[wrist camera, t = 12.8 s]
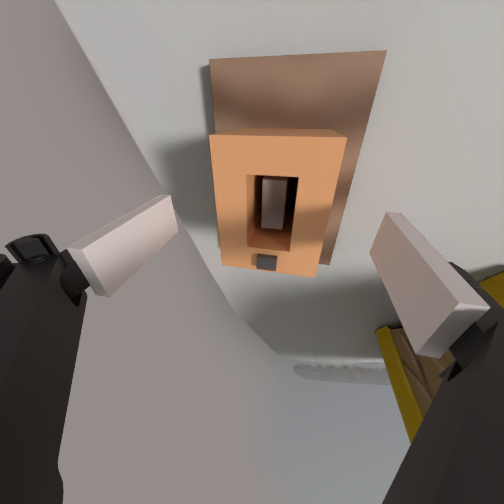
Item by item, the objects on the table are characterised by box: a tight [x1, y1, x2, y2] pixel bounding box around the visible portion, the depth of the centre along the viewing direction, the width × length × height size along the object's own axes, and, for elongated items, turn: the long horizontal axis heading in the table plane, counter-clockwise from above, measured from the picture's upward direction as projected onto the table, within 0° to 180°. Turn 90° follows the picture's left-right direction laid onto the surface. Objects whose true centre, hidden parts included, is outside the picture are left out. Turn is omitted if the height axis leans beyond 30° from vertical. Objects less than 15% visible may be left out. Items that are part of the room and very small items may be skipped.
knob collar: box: [209, 128, 347, 277], centre depth 18 cm, size 10×8×10 cm
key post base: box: [209, 50, 387, 265], centre depth 20 cm, size 20×14×8 cm
